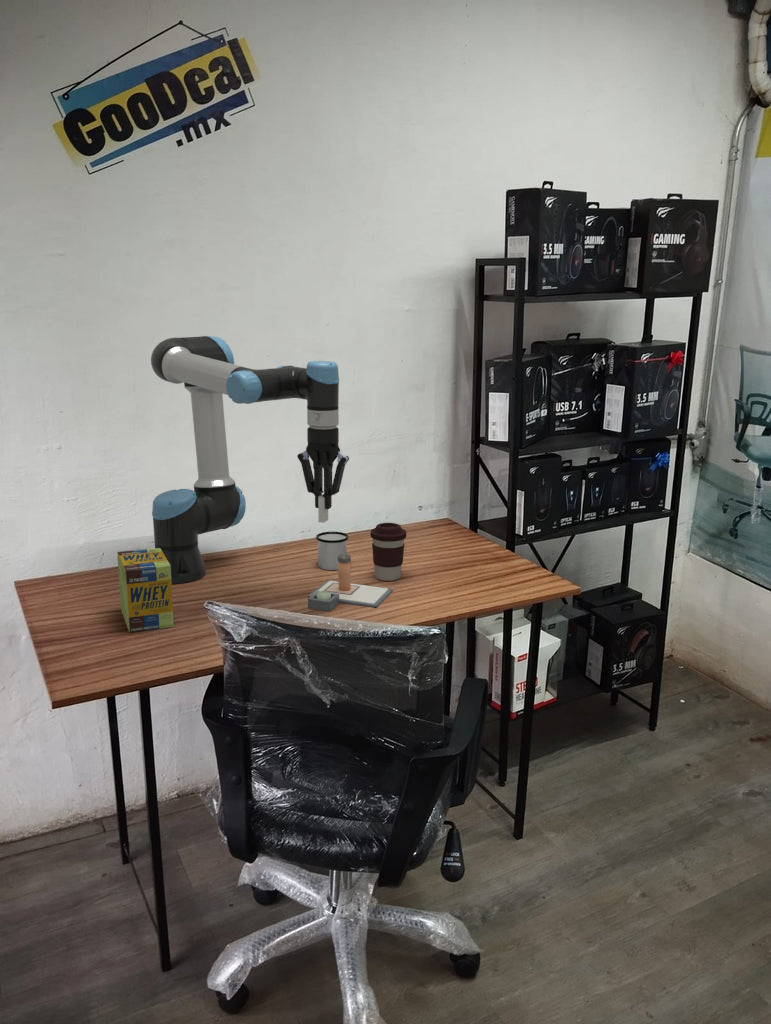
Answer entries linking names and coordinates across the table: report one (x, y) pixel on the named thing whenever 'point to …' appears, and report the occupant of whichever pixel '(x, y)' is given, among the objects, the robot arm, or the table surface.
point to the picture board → (356, 593)
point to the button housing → (323, 602)
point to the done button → (323, 595)
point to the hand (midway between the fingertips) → (323, 520)
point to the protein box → (145, 589)
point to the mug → (331, 549)
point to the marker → (344, 572)
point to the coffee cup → (388, 550)
